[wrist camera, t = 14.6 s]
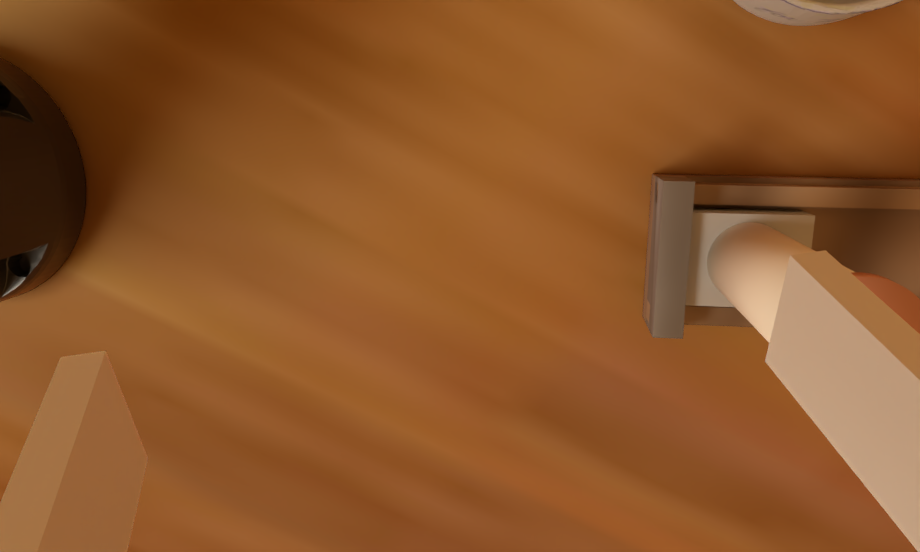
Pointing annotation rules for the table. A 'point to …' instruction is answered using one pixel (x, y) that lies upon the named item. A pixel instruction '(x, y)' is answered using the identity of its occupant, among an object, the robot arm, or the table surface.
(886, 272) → the track
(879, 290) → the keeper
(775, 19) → the teacup
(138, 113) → the table surface
